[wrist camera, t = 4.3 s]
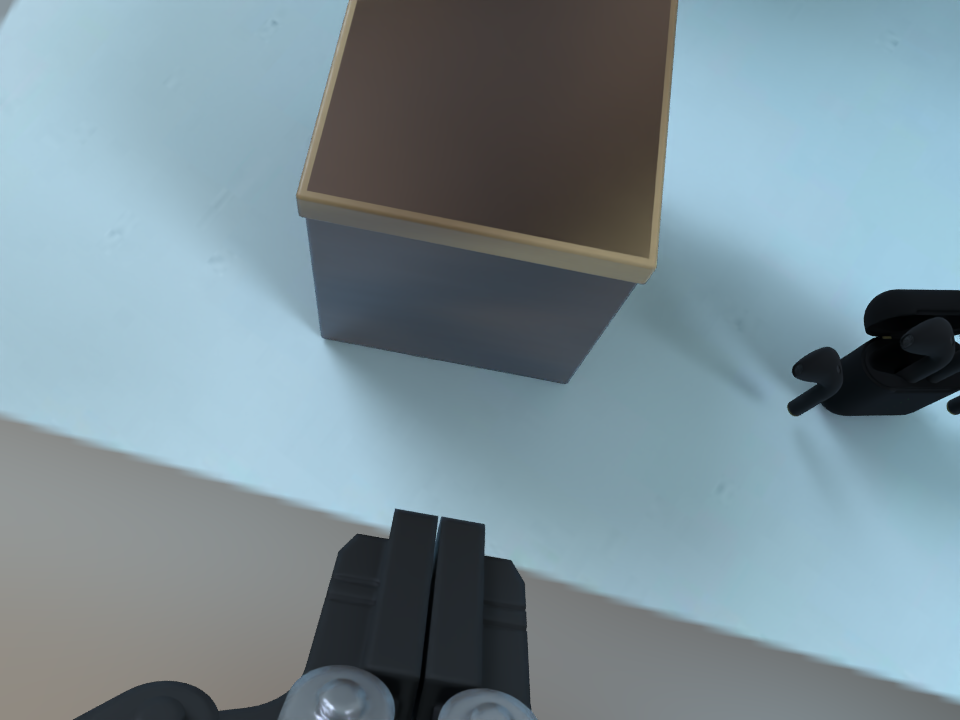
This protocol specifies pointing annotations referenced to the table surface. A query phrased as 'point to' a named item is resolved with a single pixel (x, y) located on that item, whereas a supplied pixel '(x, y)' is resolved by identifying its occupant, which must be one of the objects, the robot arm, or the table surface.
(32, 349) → the table surface
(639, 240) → the box
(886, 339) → the wireless earbuds
